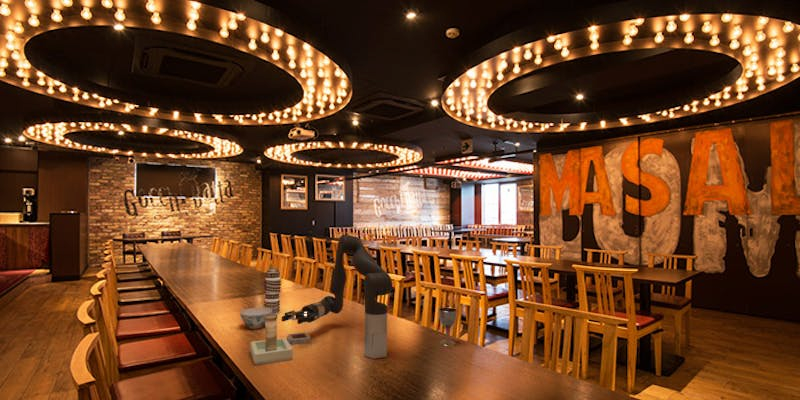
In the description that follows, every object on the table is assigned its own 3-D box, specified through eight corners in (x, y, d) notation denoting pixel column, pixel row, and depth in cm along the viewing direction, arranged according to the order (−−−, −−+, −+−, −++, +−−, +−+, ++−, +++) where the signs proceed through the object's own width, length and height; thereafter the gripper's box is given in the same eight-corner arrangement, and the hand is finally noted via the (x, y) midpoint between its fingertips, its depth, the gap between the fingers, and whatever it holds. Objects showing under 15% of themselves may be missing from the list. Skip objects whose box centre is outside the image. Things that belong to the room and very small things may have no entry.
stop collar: (311, 342, 176) (311, 337, 177) (290, 345, 172) (290, 340, 172) (306, 336, 185) (306, 332, 185) (286, 338, 181) (286, 334, 181)
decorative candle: (260, 315, 221) (261, 270, 221) (268, 311, 230) (269, 267, 230) (275, 316, 219) (276, 270, 220) (283, 312, 228) (284, 268, 229)
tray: (292, 359, 156) (292, 349, 156) (254, 365, 150) (254, 354, 150) (285, 346, 170) (285, 337, 170) (250, 351, 164) (250, 341, 164)
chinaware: (234, 326, 199) (234, 311, 199) (262, 320, 210) (262, 306, 210) (248, 333, 188) (249, 316, 189) (277, 326, 199) (277, 311, 200)
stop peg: (278, 353, 159) (278, 316, 159) (265, 356, 157) (265, 318, 157) (276, 349, 163) (276, 313, 163) (263, 351, 161) (263, 314, 161)
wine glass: (459, 343, 178) (460, 309, 179) (449, 347, 172) (449, 312, 173) (445, 339, 184) (445, 306, 184) (435, 343, 178) (435, 309, 178)
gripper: (300, 302, 188) (277, 309, 173) (325, 305, 183) (303, 313, 168) (300, 318, 188) (276, 327, 173) (325, 321, 182) (303, 331, 167)
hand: (290, 320), depth 171 cm, fingers open, 8 cm apart
